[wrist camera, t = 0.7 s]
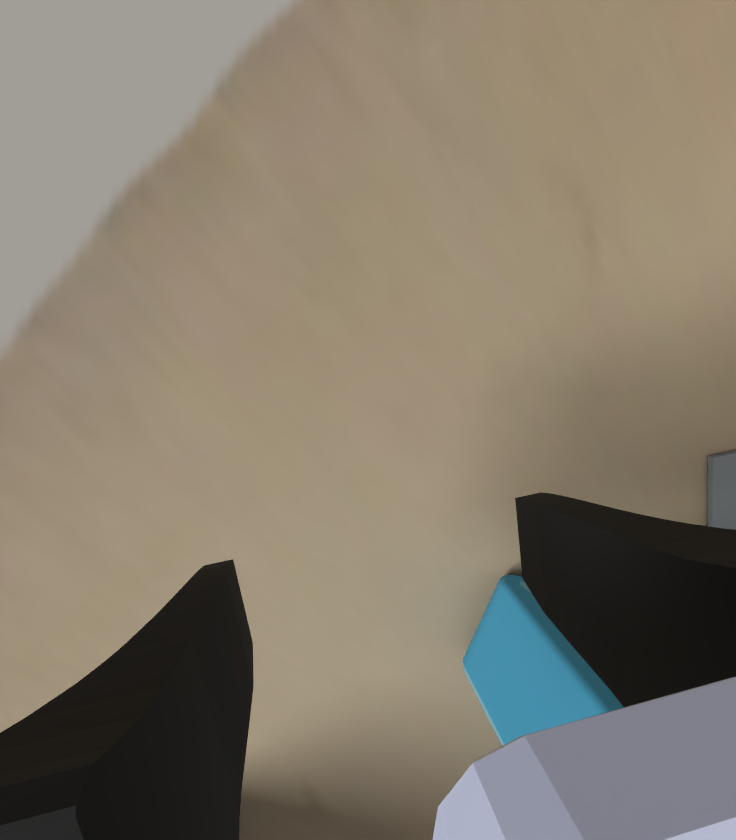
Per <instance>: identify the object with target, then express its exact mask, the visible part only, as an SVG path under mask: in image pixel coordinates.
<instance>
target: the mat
mask: <svg viewBox="0 0 736 840" xmlns="http://www.w3.org/2000/svg"><path fill="white" fill-rule="evenodd" d="M708 526H709V527H717V528H724V529H734V530H736V450H733V451H729V452H724V453H720V454H715V455H710V456H708Z"/></svg>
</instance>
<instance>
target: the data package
mask: <svg viewBox="0 0 736 840" xmlns="http://www.w3.org/2000/svg"><path fill="white" fill-rule="evenodd" d="M463 668H464V671H465V673H466V675H467V677H468V679H469V681H470V683H471V685H472V687H473V689H474V691H475V693H476V695H477V697H478V699H479V701H480V703H481V705H482V707H483V709H484V711H485V713H486V715H487V717H488V719H489V721H490V723H491V725H492V727H493V729H494V731H495V733H496V734H497V736H498V738H499V740H500V742H501V744H502V746H503V745H505V744H507V743H509V742H510V741H512V740H514V739H516V738H518V737H520V736H523V735H527V734H530V733H534V732H538V731H541V730H545V729H548V728H552V727H556V726H559V725H563V724H566V723H570V722H574V721H577V720H581V719H584V718H588V717H592V716H595V715H599V714H602V713H606V712H610V711H613V710H617V709H620V708H624V707H623V706H622V704H621V703H620V702H619V701H618V699H617V698H616V697H615V696H614V694H613V693H612V692H611V690H610V689H609V688H608V687H607V686H606V685H605V683H604V682H603V681H602V680H601V679H600V678H599V677H598V675H597V674H596V673H595V672H594V671H593V670H592V668H591V667H590V666H589V665H588V664H587V663H586V661H585V660H584V659H583V658H582V657H581V656H580V654H579V653H578V652H577V651H576V650H575V649H574V648H573V646H572V645H571V644H570V643H569V642H568V641H567V639H566V638H565V637H564V636H563V635H562V633H561V632H560V631H559V630H558V629H557V628H556V626H555V625H554V624H553V623H552V622H551V620H550V619H549V618H548V617H547V616H546V614H545V613H544V612H543V610H542V609H541V607H540V605H539V604H538V602H537V601H536V599H535V598H534V596H533V595H532V593H531V591H530V590H529V588H528V586H527V585H526V583H525V581H524V580H523V577H521V576H517V575H505V576H503V577H502V578H501V579H500V580H499V582H498V584H497V587H496V589H495V591H494V593H493V595H492V597H491V600H490V602H489V604H488V606H487V608H486V610H485V613H484V615H483V617H482V619H481V621H480V623H479V625H478V628H477V630H476V632H475V634H474V636H473V638H472V641H471V643H470V645H469V647H468V649H467V651H466V654H465V656H464V658H463Z"/></svg>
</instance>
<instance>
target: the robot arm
mask: <svg viewBox="0 0 736 840" xmlns="http://www.w3.org/2000/svg"><path fill="white" fill-rule="evenodd" d="M515 499H516V510H517V521H518V533H519V544H520V555H521V566H522V577H523V580H524V581H525V583H526V585H527V586H528V588H529V590H530V591H531V593H532V595H533V596H534V598H535V599H536V601H537V602H538V604H539V605H540V607H541V609H542V610H543V612H544V613H545V614H546V616H547V617H548V618H549V619H550V620H551V622H552V623H553V624H554V625H555V626H556V628H557V629H558V630H559V631H560V632H561V633H562V635H563V636H564V637H565V638H566V639H567V641H568V642H569V643H570V644H571V645H572V646H573V648H574V649H575V650H576V651H577V652H578V653H579V654H580V656H581V657H582V658H583V659H584V660H585V661H586V663H587V664H588V665H589V666H590V667H591V668H592V670H593V671H594V672H595V673H596V674H597V675H598V677H599V678H600V679H601V680H602V681H603V682H604V683H605V685H606V686H607V687H608V688H609V689H610V690H611V692H612V693H613V694H614V696H615V697H616V698H617V699H618V701H619V702H620V703H621V704H622V706H623V707H624V708H620V709H617V710H613V711H610V712H606V713H602V714H599V715H595V716H592V717H588V718H584V719H581V720H577V721H574V722H570V723H566V724H563V725H559V726H556V727H552V728H548V729H545V730H541V731H538V732H534V733H530V734H527V735H523V736H520V737H518V738H516V739H514V740H512V741H510V742H509V743H507V744H505V745H503V746H501V747H499V748H497V749H495V750H493V751H491V752H489V753H488V754H486V755H484V756H482V757H480V758H478V759H476V760H475V761H474V762H473V763H472V764H471V766H470V767H469V768H468V769H467V771H466V772H465V773H464V775H463V776H462V777H461V778H460V780H459V781H458V782H457V783H456V785H455V786H454V787H453V788H452V790H451V791H450V792H449V793H448V795H447V796H446V797H445V798H444V800H443V801H442V802H441V804H440V805H439V806H438V810H437V816H436V822H435V828H434V834H433V840H736V530H734V529H724V528H717V527H709V526H702V525H694V524H687V523H681V522H675V521H670V520H665V519H660V518H655V517H650V516H645V515H640V514H636V513H631V512H627V511H622V510H618V509H614V508H610V507H606V506H602V505H598V504H594V503H590V502H586V501H582V500H578V499H574V498H569V497H565V496H560V495H555V494H549V493H537V494H532V495H528V496H523V497H518V498H515ZM252 693H253V642H252V638H251V634H250V630H249V625H248V621H247V617H246V613H245V608H244V604H243V600H242V596H241V592H240V587H239V583H238V579H237V575H236V570H235V566H234V562H233V560H228V561H223V562H219V563H214V564H210V565H205V566H203V567H202V568H201V569H200V570H199V571H197V572H196V574H195V575H194V576H193V577H192V578H191V579H190V580H189V581H188V582H187V583H186V584H185V585H184V586H183V587H182V588H181V589H180V590H179V592H178V593H177V594H176V595H175V596H174V597H173V598H172V599H171V600H170V601H169V602H168V603H167V604H166V605H165V606H164V607H163V608H162V609H161V610H160V611H159V612H158V613H157V614H156V615H155V616H154V617H153V618H152V619H151V620H150V621H149V622H148V623H147V624H146V625H145V626H144V627H143V628H142V629H141V630H140V631H139V632H138V633H136V634H135V635H134V636H133V637H132V638H131V639H130V640H129V641H128V642H127V643H126V644H125V645H124V646H122V647H121V648H120V649H119V650H118V651H117V652H116V653H114V654H113V655H112V656H111V657H110V658H108V659H107V660H106V661H105V662H103V663H102V664H101V665H100V666H98V667H97V668H96V669H95V670H93V671H92V672H91V673H89V674H88V675H87V676H86V677H84V678H83V679H82V680H80V681H79V682H78V683H76V684H75V685H73V686H72V687H70V688H69V689H67V690H66V691H65V692H63V693H62V694H60V695H59V696H57V697H56V698H54V699H53V700H51V701H50V702H48V703H47V704H45V705H44V706H42V707H41V708H39V709H38V710H36V711H35V712H33V713H32V714H30V715H29V716H27V717H26V718H24V719H23V720H21V721H19V722H18V723H16V724H14V725H13V726H11V727H9V728H8V729H6V730H4V731H3V732H1V733H0V840H239V815H240V801H241V789H242V780H243V772H244V763H245V755H246V746H247V738H248V729H249V721H250V711H251V702H252Z"/></svg>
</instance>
